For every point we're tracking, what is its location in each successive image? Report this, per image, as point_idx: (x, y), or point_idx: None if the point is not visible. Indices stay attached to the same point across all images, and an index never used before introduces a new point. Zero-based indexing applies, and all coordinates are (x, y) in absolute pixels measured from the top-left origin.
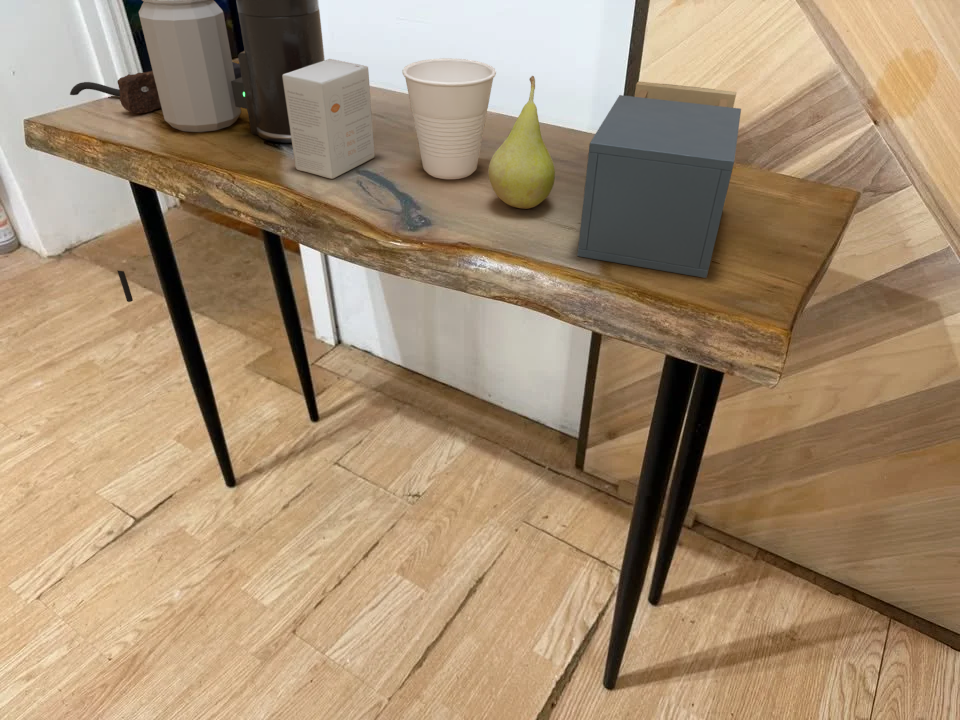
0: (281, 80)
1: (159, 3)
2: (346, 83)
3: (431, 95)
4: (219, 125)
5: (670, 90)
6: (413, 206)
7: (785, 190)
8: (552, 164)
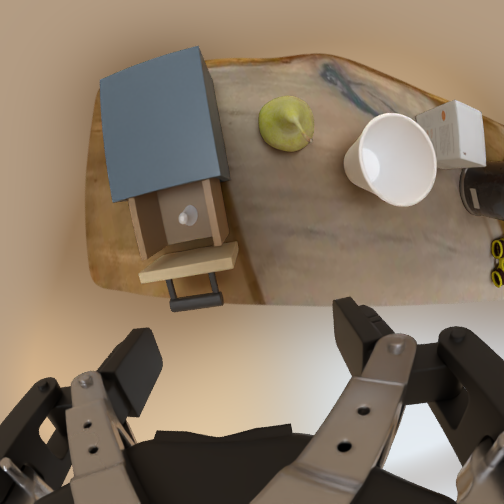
0: (496, 163)
1: None
2: (454, 128)
3: (389, 119)
4: None
5: (196, 262)
6: (348, 95)
7: (122, 266)
8: (262, 128)
